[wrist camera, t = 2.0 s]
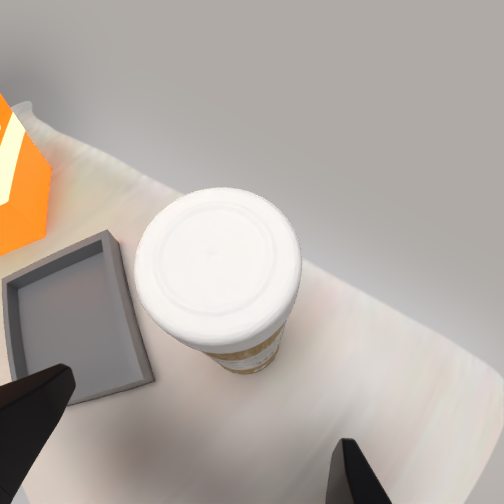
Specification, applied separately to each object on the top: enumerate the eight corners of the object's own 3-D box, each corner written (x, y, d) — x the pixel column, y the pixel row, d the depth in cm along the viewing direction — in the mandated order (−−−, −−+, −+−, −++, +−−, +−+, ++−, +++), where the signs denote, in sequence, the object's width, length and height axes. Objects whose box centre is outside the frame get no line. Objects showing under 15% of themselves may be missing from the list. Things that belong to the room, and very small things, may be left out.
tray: (155, 380, 19) (143, 378, 17) (36, 413, 18) (18, 412, 16) (118, 242, 24) (107, 229, 22) (16, 288, 22) (1, 279, 20)
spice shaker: (253, 294, 21) (238, 156, 9) (293, 349, 20) (342, 271, 8) (196, 332, 20) (104, 236, 8) (234, 389, 19) (183, 381, 7)
